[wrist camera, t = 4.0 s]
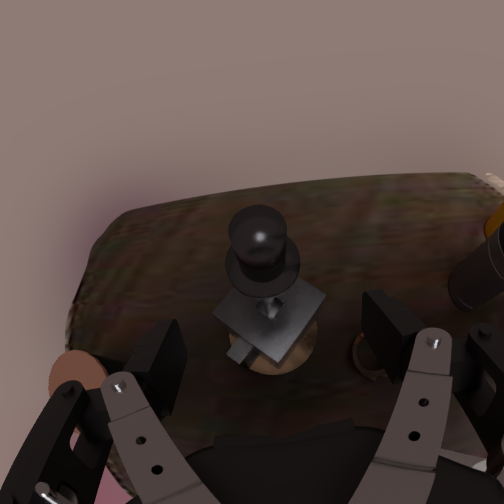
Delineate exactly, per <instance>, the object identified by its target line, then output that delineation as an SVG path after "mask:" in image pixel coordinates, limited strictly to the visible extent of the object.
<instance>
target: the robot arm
mask: <svg viewBox="0 0 504 504" xmlns="http://www.w3.org/2000/svg"><path fill="white" fill-rule="evenodd" d="M503 291H504V222H503V223H502V224H501V225H500V226H499V227H498V228H497V229H496V230H495V231H494V232H493V233H492V235H491V236H490V237H489V238H488V239H487V240H486V241H485V242H483V243H482V244H481V245H480V246H479V247H478V248H477V249H476V250H475V251H474V252H473V253H472V254H470V255H469V256H468V257H467V258H466V259H465V260H464V261H463V262H462V263H461V264H460V266H459V267H457V268H456V269H455V270H454V271H453V272H452V274H451V275H450V278H449V292H450V295H451V298H452V300H453V302H454V303H455V304H456V305H457V306H458V307H459V308H460V309H462V310H464V311H472V310H474V309H476V308H477V307H479V306H481V305H482V304H484V303H486V302H487V301H489V300H491V299H492V298H494V297H495V296H497V295H499V294H500V293H502V292H503ZM362 331H363V334H364V337H365V338H366V340H367V342H368V343H369V345H370V347H371V348H372V350H373V352H374V353H375V355H376V357H377V358H378V360H379V362H380V363H381V365H382V367H383V368H384V370H385V372H386V374H387V375H388V377H389V379H390V380H391V382H392V384H393V385H396V384H399V383H402V382H403V385H402V388H401V391H400V394H399V397H398V400H397V403H396V405H395V408H394V411H393V414H392V416H391V419H390V421H389V424H388V426H387V429H386V431H385V430H382V429H378V428H372V427H360V426H359V427H355V425H354V423H353V420H352V418H350V419H346V420H341V421H337V422H333V423H328V424H323V425H319V426H316V427H314V428H311V429H308V430H306V431H303V432H301V433H298V434H295V435H292V436H289V437H286V438H274V437H263V436H253V435H238V436H215V437H214V446H210V447H207V448H203V449H201V450H198V451H196V452H194V453H192V454H190V455H188V456H187V457H185V458H184V457H183V456H182V455H181V453H180V452H179V450H178V449H177V447H176V446H175V444H174V443H173V442H172V440H171V439H170V437H169V435H168V434H167V432H166V431H165V429H164V428H163V426H162V425H161V423H160V421H159V418H160V415H166V416H171V414H172V411H173V407H174V404H175V400H176V397H177V393H178V390H179V386H180V383H181V379H182V376H183V373H184V369H185V366H186V363H187V350H186V346H185V343H184V340H183V337H182V334H181V331H180V328H179V325H178V322H177V321H176V319H168V320H159V321H158V322H157V323H156V325H155V327H154V329H153V330H152V332H148V333H147V334H146V335H145V336H143V337H142V338H141V339H140V341H139V343H138V345H137V347H136V348H135V350H134V352H133V353H132V355H131V357H130V359H129V360H128V362H127V364H126V366H125V368H124V369H123V371H122V372H117V373H114V374H112V375H110V376H108V377H107V378H106V379H105V380H104V381H103V382H102V384H101V388H95V389H89V390H85V388H84V387H83V385H82V383H81V382H79V381H77V380H70V381H66V382H64V383H62V384H61V385H60V386H58V387H57V389H56V390H55V391H54V393H53V395H52V396H51V398H50V399H49V401H48V403H47V404H46V406H45V407H44V409H43V411H42V412H41V414H40V416H39V417H38V419H37V421H36V422H35V424H34V426H33V428H32V429H31V431H30V433H29V435H28V436H27V438H26V440H25V442H24V443H23V445H22V447H21V449H20V451H19V453H18V455H17V457H16V458H15V461H14V463H13V465H12V466H11V468H10V470H9V473H8V475H7V477H6V479H5V481H4V483H3V485H2V488H1V490H0V504H94V502H95V498H96V495H97V491H98V488H99V484H100V481H101V478H102V474H103V471H104V468H105V465H106V462H107V459H108V456H109V453H110V450H111V447H112V444H113V441H114V442H115V445H116V447H117V450H118V452H119V455H120V457H121V459H122V462H123V464H124V466H125V468H126V471H127V473H128V475H129V477H130V479H131V481H132V483H133V485H134V487H135V489H136V491H137V493H138V495H137V496H135V497H134V498H133V499H131V500H130V501H129V502H127V503H126V504H504V335H503V334H502V333H501V332H500V331H499V330H498V329H497V328H496V327H495V326H493V325H491V324H488V323H476V324H474V325H472V326H471V327H470V330H469V333H468V336H467V337H459V338H451V336H450V334H449V333H447V332H446V331H444V330H442V329H439V328H428V327H427V326H426V325H425V324H424V323H423V322H422V321H421V320H420V319H419V318H418V317H417V316H416V315H415V314H413V312H412V311H411V310H410V309H408V307H407V306H406V305H405V304H404V303H403V302H402V301H400V300H398V299H396V298H394V297H390V298H389V297H388V296H387V294H386V293H385V292H384V291H383V290H382V289H375V290H370V291H365V292H364V293H363V296H362ZM486 373H488V374H489V375H490V376H491V378H492V379H493V380H494V382H495V384H496V393H495V392H494V390H493V389H492V387H491V386H490V385H489V384H488V382H487V381H486V380H485V376H486ZM451 393H453V394H454V395H455V397H456V399H457V400H458V402H459V403H460V405H461V407H462V408H463V410H464V412H465V413H466V415H467V417H468V418H469V420H470V422H471V423H472V425H473V427H474V429H475V430H476V432H477V434H478V436H479V438H480V440H481V441H482V443H483V445H484V447H485V449H486V451H487V453H488V456H487V460H486V467H487V469H486V471H485V472H483V471H480V470H477V469H474V468H471V467H469V466H466V465H463V464H461V463H458V462H455V461H453V460H450V459H448V458H445V457H443V456H440V455H439V452H440V448H441V444H442V439H443V435H444V430H445V426H446V420H447V415H448V409H449V403H450V396H451ZM75 428H77V429H78V431H79V432H80V435H79V437H78V440H77V442H76V444H75V446H74V449H73V451H72V450H71V448H70V438H71V436H72V434H73V432H74V430H75Z"/></svg>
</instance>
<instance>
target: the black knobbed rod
mask: <svg viewBox="0 0 504 504" xmlns="http://www.w3.org/2000/svg"><path fill="white" fill-rule="evenodd" d="M228 233H229V237H230V240H231V243H232V245H231V246H230V248H229V250H228V252H227V255H226V260H225V267H226V272H227V275H228V277H229V279H230V281H231V283H232V285H233V286H234V287H235V288H236V290H238V291H239V292H240V293H241V294H243V295H245V296H247V297H250V298H253V299H260V300H261V301H260V302H259V304H258V305H257V306H256V307H255V309H257V310H258V311H260V312H261V313H262V314H264V315H265V316H267V317H268V318H270V319H271V320H272V319H273V318H274V316H275V315H276V314H277V312H278V311H279V310H280V308H281V307H282V306H283V304H284V303H282V302H281V301H279V300H278V299H277V298H275V297H278V296H280V295H282V294H283V293H285V292H286V291H287V290H289V289H290V288H291V287H292V285H293V284H294V283H295V281H296V279H297V277H298V274H299V268H300V255H299V252H298V249H297V247H296V245H295V244H294V242H293V241H292V240H291V239H290V238H289V237H288V236H287V226H286V222H285V219H284V217H283V216H282V215H281V214H280V213H279V212H278V211H277V210H275V209H274V208H272V207H269V206H265V205H253V206H249V207H246V208H244V209H242V210H240V211H239V212H238V213H237V214H236V215H235V216H234V217H233V218H232V220H231V222H230V224H229V229H228Z"/></svg>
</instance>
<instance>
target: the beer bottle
mask: <svg viewBox="0 0 504 504" xmlns="http://www.w3.org/2000/svg"><path fill="white" fill-rule="evenodd" d="M503 222H504V202H503V203H502V204H501V206H500V207H499V208H498V209H497V211H496V212H495V213H494V214H493V215H492V216H491V217H490V218H489V220H488V221H487V223H486V225H485V235H486V238H487V239H488V238H489V237H490V236H491V235H492V233H493V232H494V231H495V230H496V229H497V228H498V227H499V226H500V225H501V224H502V223H503Z"/></svg>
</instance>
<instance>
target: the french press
mask: <svg viewBox="0 0 504 504" xmlns="http://www.w3.org/2000/svg"><path fill="white" fill-rule="evenodd" d="M325 297H326V294H324V293H323V292H321V291H319V290H318V289H316V288H315V287H313V286H312V285H310V284H309V283H307V282H305V281H304V280H302V279H301V278H299V277H297V279H296V281H295V283H294V284H293V285H292V287H291V288H290V289H289V290H287V291H286V292H285V293H283V294H282V295H280V296H278V297H275V298H277V299H278V300H279V301H281V302H282V303H284V304H283V306H282V307H281V308H280V310H279V311H278V312H277V314H276V315H275V316H274V318H273V319H272V320H271V319H270V318H268V317H267V316H265V315H264V314H262V313H261V312H260V311H258V310H257V309H255V307H256V306H257V305H258V304H259V302H260V301H261V300H260V299H253V298H250V297H247V296H245V295H243V294H241V293H240V292H239V291H238V290H236V288H235V287H233V288H232V289H231V291H230V292H229V293H228V294H227V295H226V297H225V298H224V299H223V300H222V301H221V303H220V304H219V305H218V306H217V307H216V309H215V310H214V311H213V312H212V314H213V315H214V316H215V317H216V319H217V320H218V321H219V322H220V323H221V324H222V325H223V326H224V327H225V328H226V329H227V331H228V332H229V334H230V342H231V346H232V347H231V348H230V349H229V350H228V352H227V353H226V354H227V355H228V356H229V357H230V358H232V359H233V360H234V361H236V362H237V363H238V364H240V365H242V366H243V367H245V368H247V369H249V368H250V369H251V370H254V371H256V372H258V373H261V374H266V375H280V374H284V373H288V372H290V371H292V370H294V369H296V368H298V367H299V366H301V365H302V364H303V363H304V362H305V361H306V360H307V359H308V357H309V356H310V355H311V353H312V351H313V349H314V347H315V344H316V341H317V323H316V317H317V315H318V313H319V310H320V308H321V306H322V304H323V302H324V300H325Z"/></svg>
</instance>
